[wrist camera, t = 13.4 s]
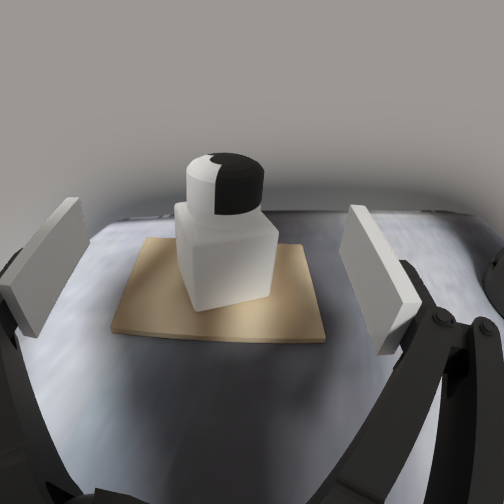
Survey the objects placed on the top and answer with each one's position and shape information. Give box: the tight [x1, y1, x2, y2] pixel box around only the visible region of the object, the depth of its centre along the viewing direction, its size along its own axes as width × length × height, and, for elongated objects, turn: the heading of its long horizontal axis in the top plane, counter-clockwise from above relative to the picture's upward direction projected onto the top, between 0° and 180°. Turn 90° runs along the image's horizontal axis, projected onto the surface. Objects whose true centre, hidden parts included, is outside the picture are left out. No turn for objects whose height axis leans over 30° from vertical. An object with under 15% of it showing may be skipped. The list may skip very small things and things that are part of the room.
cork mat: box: [111, 237, 326, 343], centre depth 31 cm, size 18×14×1 cm
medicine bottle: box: [174, 153, 279, 312], centre depth 28 cm, size 7×7×12 cm
